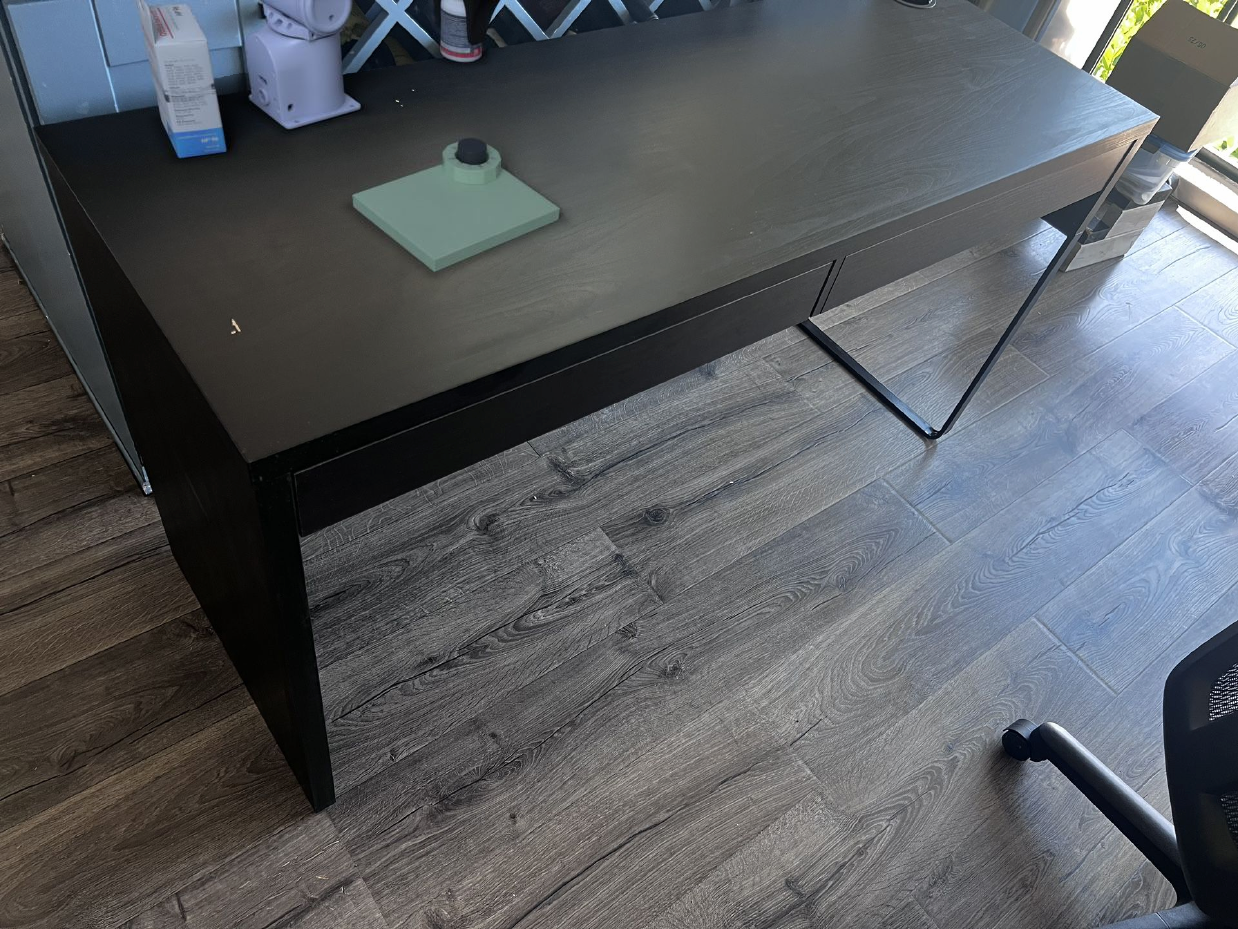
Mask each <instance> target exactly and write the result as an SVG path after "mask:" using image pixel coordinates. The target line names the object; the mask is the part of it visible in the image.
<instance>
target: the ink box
mask: <svg viewBox="0 0 1238 929" xmlns="http://www.w3.org/2000/svg"><path fill="white" fill-rule="evenodd" d="M135 2H136V7H137V13H138V17H139V22H140V26H141V31H142V36H143V42H144V45H145V50H146V55H147V58H148V59H147V60H148V62H149V63H148V64H149V69H150V73H151V77H152V81H153V86H154V91H155V94H156V95H155V96H156V100H157V105H158V111H159V115H160V119H161V122H162V124H163V127H164V129H165V131H166V133H167V135H168V136H167V137H168V138H169V140H170V142H171V145H172V147H173V149H174V151H175V153H176V156H177V157H178V158H179V159H184V158H191V157H197V156H205V155H206V156H207V155H212V154H214V155H215V154H219V153H226V152H227V145H226V139H225V134H224V128H223V123H222V117H221V116H222V115H221V112H220V106H219V101H218V95H217V90H216V84H215V78H214V72H213V71H214V70H213V65H212V59H211V54H210V47H209V40H208V38H207V36H206V35H205V32H204V31H203V28H202V27H201V25H200V23H199V21H198V19H197V17H196V15H195V14H194V12H193V10H192V9H191V6H189V4H188V3H177V4H175V3H174V4H159V5H148V4H147V2H146V0H135Z"/></svg>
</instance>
